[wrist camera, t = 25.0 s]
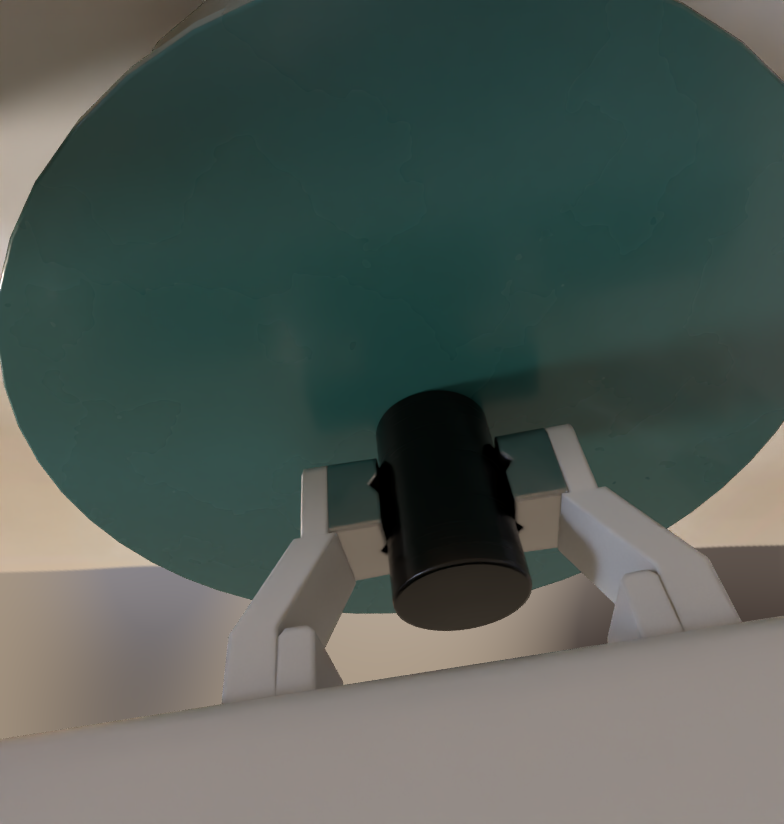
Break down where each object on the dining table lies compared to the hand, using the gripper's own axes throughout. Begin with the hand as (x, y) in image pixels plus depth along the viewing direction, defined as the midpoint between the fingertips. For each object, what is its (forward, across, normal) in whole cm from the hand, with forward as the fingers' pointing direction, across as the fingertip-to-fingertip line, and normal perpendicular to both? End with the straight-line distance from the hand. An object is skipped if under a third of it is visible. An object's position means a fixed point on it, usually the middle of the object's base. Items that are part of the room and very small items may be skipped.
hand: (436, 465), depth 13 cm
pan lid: (+2, 0, 0) cm, 2 cm away
